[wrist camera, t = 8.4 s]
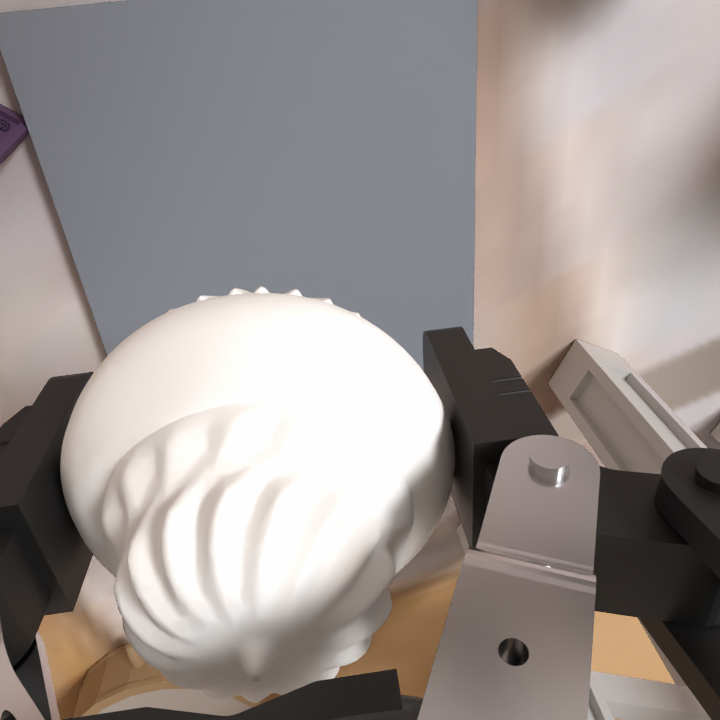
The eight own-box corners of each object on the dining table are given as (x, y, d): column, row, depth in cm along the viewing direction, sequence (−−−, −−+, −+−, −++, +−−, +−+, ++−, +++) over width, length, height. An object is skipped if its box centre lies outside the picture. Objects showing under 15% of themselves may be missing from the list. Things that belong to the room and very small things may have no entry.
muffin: (151, 485, 14) (52, 841, 8) (81, 231, 11) (-165, 507, 5) (413, 460, 15) (502, 781, 9) (418, 210, 11) (564, 441, 5)
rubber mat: (473, -34, 18) (477, -35, 18) (469, 365, 25) (472, 371, 25) (-6, 13, 17) (-13, 14, 17) (131, 409, 25) (128, 416, 24)
